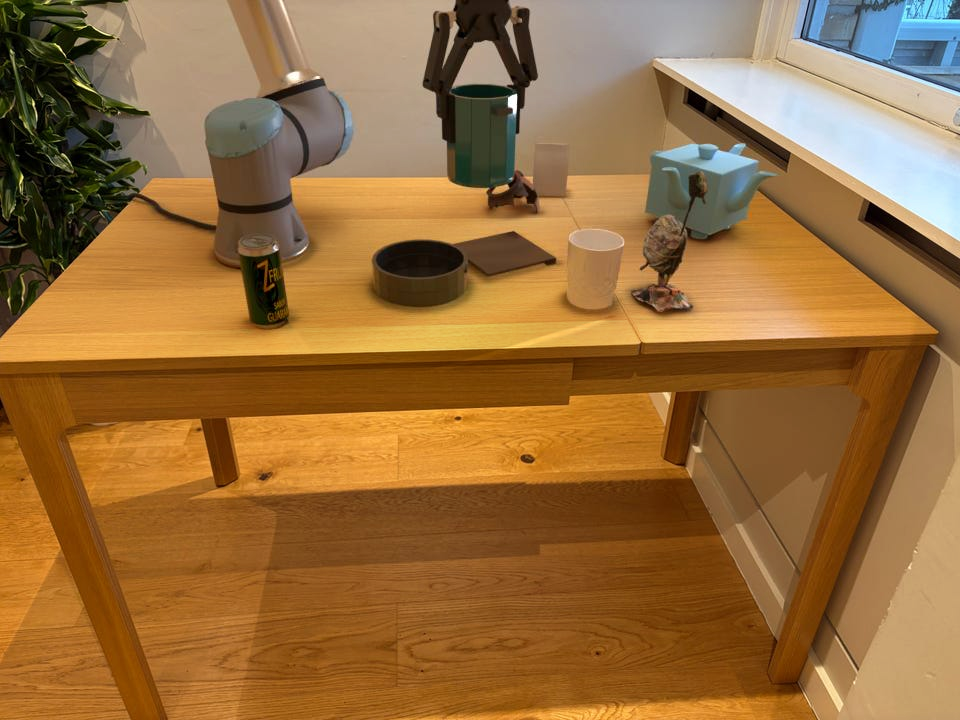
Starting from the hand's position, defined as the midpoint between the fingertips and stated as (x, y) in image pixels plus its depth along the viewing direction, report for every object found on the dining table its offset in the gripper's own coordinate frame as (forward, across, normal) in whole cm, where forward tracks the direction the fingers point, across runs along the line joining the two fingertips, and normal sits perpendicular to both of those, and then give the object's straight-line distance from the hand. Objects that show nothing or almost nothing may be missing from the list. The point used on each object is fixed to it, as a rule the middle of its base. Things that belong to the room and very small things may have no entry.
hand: (481, 136), depth 106 cm
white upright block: (+21, +30, +24) cm, 44 cm away
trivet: (+21, +5, +2) cm, 22 cm away
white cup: (+21, +9, -18) cm, 29 cm away
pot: (+6, 0, 0) cm, 6 cm away
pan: (+21, -12, -3) cm, 24 cm away
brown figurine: (+21, +19, -22) cm, 36 cm away
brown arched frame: (+21, +19, +20) cm, 35 cm away
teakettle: (+21, +44, -3) cm, 49 cm away
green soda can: (+21, -35, -2) cm, 41 cm away
